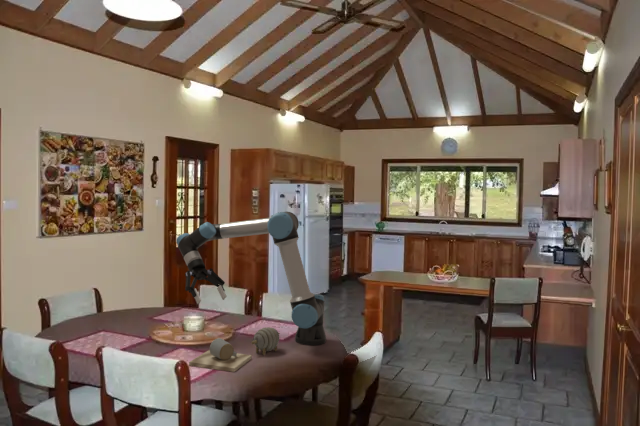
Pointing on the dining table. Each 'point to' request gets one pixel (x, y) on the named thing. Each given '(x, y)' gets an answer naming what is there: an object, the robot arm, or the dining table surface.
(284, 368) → the dining table surface
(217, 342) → the ceramic mug
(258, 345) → the toy sheep
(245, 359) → the birch board
